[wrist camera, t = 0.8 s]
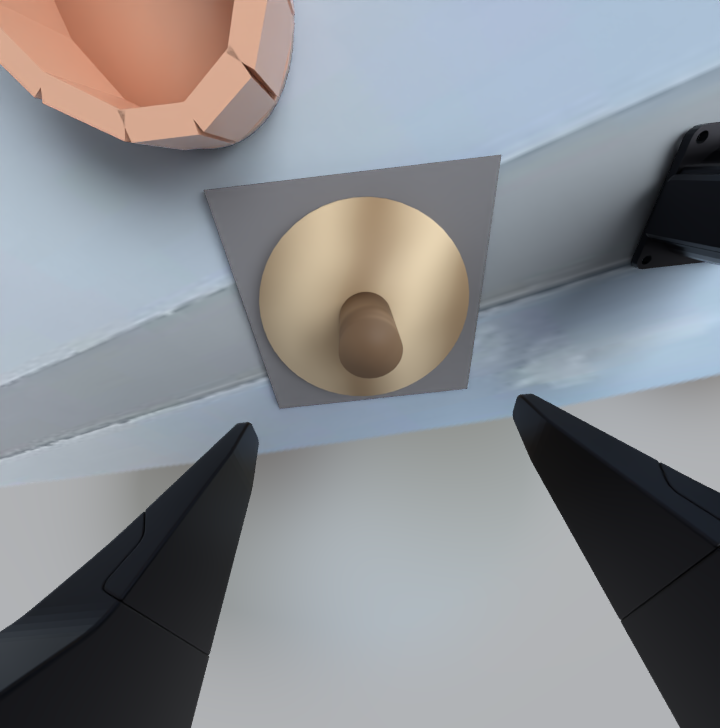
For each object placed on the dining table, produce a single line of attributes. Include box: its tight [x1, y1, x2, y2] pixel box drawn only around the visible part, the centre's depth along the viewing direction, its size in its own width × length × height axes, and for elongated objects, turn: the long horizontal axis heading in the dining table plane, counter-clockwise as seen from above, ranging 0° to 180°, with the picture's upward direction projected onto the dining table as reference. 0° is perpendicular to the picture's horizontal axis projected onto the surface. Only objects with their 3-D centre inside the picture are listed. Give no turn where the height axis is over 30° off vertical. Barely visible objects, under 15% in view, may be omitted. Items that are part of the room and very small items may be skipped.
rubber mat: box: [204, 155, 501, 409], centre depth 17 cm, size 14×14×1 cm
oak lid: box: [259, 197, 469, 396], centre depth 15 cm, size 12×12×5 cm
